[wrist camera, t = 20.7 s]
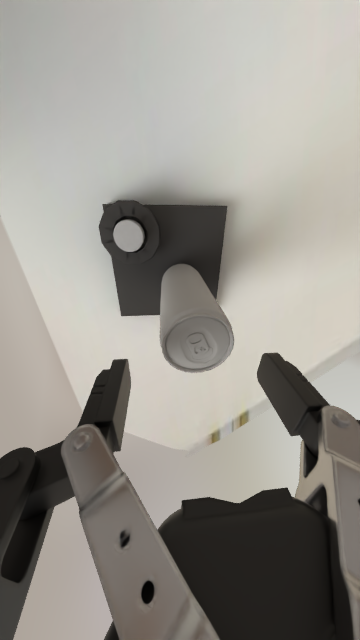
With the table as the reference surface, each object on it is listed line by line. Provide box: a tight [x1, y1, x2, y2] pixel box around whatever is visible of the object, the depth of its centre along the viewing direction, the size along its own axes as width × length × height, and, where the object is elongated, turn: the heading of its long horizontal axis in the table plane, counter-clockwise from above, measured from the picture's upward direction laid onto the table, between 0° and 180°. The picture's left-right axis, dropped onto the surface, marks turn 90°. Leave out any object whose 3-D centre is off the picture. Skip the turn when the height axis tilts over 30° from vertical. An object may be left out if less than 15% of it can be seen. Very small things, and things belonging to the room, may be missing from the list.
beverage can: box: [160, 264, 234, 373], centre depth 17 cm, size 5×5×12 cm
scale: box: [99, 200, 227, 316], centre depth 21 cm, size 12×12×3 cm
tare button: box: [113, 219, 145, 252], centre depth 17 cm, size 3×3×2 cm
